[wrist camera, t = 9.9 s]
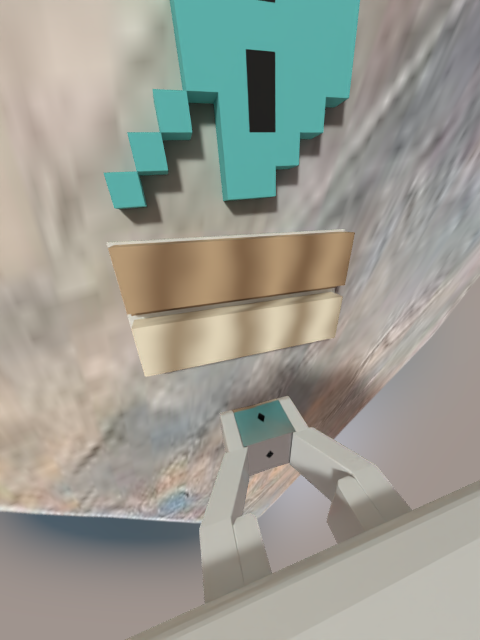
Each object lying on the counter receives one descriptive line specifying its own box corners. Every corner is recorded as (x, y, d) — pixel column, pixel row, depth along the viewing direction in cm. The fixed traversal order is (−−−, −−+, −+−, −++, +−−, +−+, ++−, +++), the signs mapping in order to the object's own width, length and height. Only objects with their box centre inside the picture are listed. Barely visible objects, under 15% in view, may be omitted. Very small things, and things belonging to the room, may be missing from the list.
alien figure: (120, 209, 18) (323, 193, 23) (114, 208, 16) (338, 191, 21) (-40, -327, 9) (355, -171, 14) (-96, -476, 7) (386, -235, 12)
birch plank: (331, 291, 27) (342, 296, 25) (324, 330, 29) (334, 337, 28) (134, 319, 21) (131, 329, 19) (146, 365, 23) (145, 376, 22)
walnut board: (341, 231, 24) (354, 232, 22) (332, 286, 27) (343, 290, 25) (113, 245, 18) (107, 247, 16) (132, 313, 21) (129, 321, 19)
